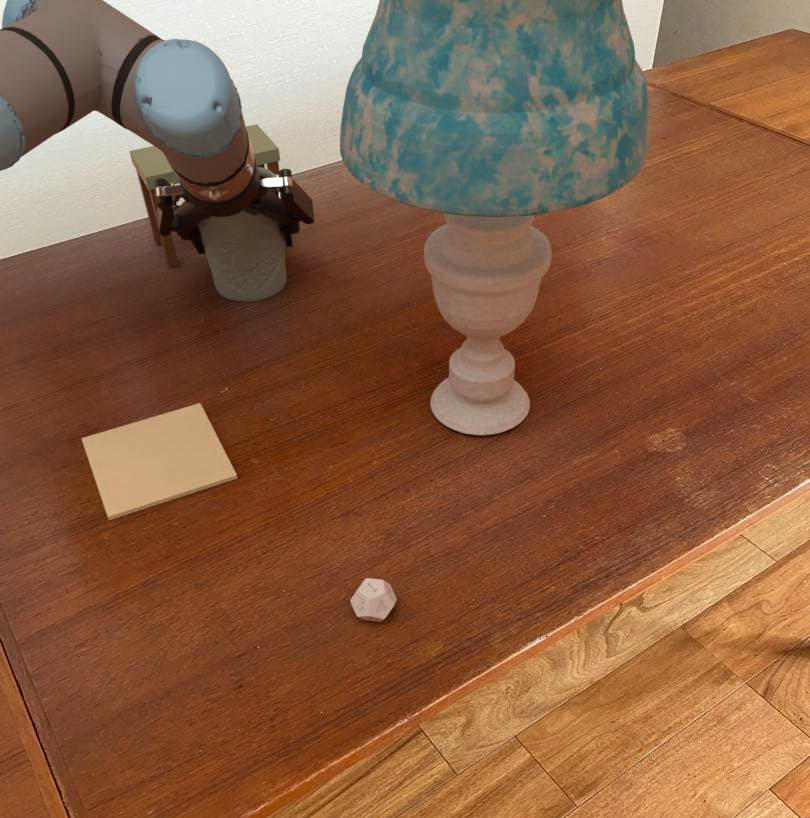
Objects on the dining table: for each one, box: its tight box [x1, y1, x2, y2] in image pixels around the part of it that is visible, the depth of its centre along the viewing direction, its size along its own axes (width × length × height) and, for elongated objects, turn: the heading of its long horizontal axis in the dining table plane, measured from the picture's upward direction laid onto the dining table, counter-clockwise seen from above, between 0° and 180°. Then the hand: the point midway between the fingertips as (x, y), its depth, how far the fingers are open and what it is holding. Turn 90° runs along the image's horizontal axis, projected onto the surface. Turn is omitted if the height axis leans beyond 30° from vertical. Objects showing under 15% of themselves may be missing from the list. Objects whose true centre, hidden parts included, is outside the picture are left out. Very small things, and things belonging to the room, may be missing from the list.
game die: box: [349, 577, 398, 623], centre depth 68 cm, size 4×4×3 cm
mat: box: [80, 402, 238, 521], centre depth 82 cm, size 12×12×1 cm
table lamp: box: [339, 0, 651, 437], centre depth 72 cm, size 24×24×40 cm
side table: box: [129, 124, 285, 269], centre depth 107 cm, size 8×16×12 cm, turn 115°
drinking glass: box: [197, 167, 288, 303], centre depth 99 cm, size 10×10×12 cm
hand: (245, 239), depth 103 cm, fingers closed on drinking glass, 10 cm apart
